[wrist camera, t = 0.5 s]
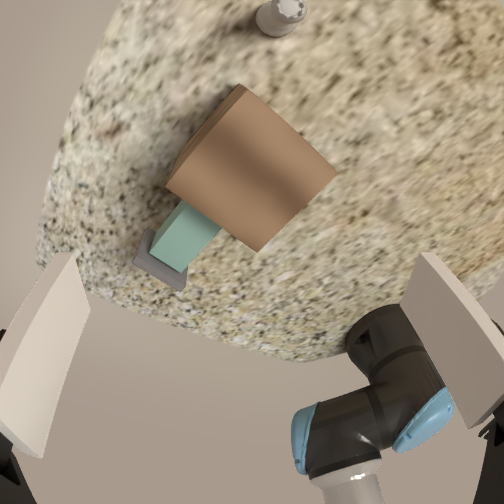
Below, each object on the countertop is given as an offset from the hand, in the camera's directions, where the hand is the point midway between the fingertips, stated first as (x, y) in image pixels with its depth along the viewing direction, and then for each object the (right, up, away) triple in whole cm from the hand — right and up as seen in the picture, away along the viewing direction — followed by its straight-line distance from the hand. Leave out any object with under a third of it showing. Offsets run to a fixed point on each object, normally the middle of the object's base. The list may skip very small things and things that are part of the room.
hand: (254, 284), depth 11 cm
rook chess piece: (+2, +26, +16) cm, 31 cm away
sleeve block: (-1, +13, +23) cm, 27 cm away
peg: (-6, +5, +23) cm, 24 cm away
